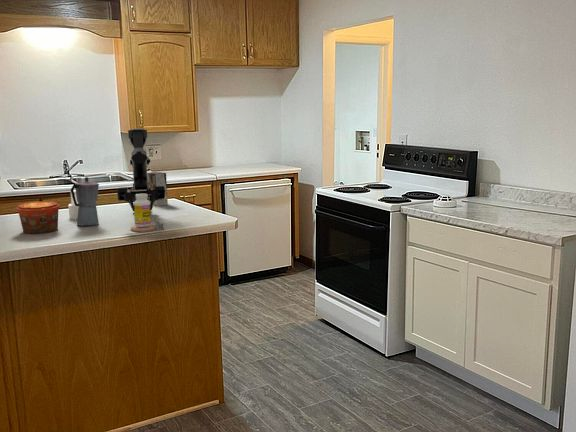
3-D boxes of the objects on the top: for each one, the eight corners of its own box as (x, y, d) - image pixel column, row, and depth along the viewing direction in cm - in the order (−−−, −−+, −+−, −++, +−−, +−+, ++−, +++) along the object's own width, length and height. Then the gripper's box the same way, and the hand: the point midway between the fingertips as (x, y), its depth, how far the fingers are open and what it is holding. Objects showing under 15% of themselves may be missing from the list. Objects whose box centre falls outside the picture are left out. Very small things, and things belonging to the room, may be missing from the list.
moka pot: (108, 221, 243) (105, 175, 239) (85, 229, 229) (81, 180, 225) (90, 220, 246) (86, 175, 242) (65, 227, 232) (61, 179, 228)
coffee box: (168, 204, 284) (166, 172, 281) (157, 206, 280) (155, 174, 276) (159, 202, 290) (157, 171, 287) (147, 203, 286) (146, 172, 283)
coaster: (125, 230, 225) (125, 228, 225) (140, 225, 235) (140, 223, 234) (147, 232, 222) (146, 230, 222) (161, 227, 231) (160, 225, 231)
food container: (18, 236, 217) (15, 209, 215) (19, 228, 231) (16, 202, 229) (62, 232, 223) (60, 206, 221) (61, 225, 238) (58, 199, 236)
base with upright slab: (94, 217, 253) (92, 190, 251) (75, 220, 247) (73, 193, 245) (84, 214, 259) (82, 188, 257) (65, 217, 253) (63, 191, 251)
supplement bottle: (142, 228, 224) (140, 196, 221) (131, 226, 227) (129, 194, 225) (155, 224, 229) (153, 193, 226) (144, 223, 233) (142, 192, 230)
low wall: (155, 225, 235) (155, 219, 235) (157, 225, 236) (157, 219, 235) (161, 229, 227) (161, 223, 226) (163, 229, 227) (163, 223, 226)
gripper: (163, 189, 243) (166, 219, 235) (118, 191, 238) (119, 222, 230) (163, 173, 234) (166, 204, 225) (116, 175, 229) (117, 207, 221)
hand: (142, 210), depth 226 cm, fingers closed on supplement bottle, 6 cm apart
